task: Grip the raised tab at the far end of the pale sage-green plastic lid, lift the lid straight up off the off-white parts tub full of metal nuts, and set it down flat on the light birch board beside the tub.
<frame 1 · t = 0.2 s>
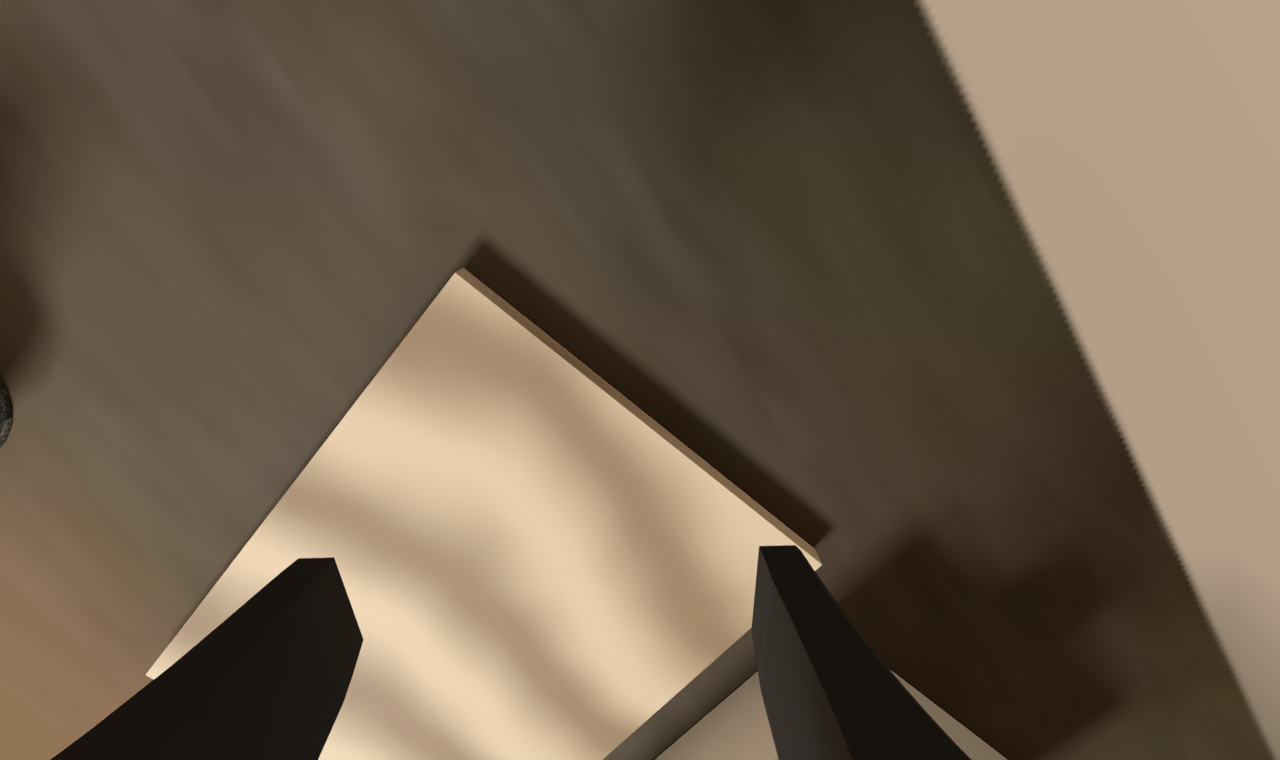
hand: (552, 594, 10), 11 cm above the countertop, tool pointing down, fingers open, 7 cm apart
board: (481, 602, 23), on the countertop
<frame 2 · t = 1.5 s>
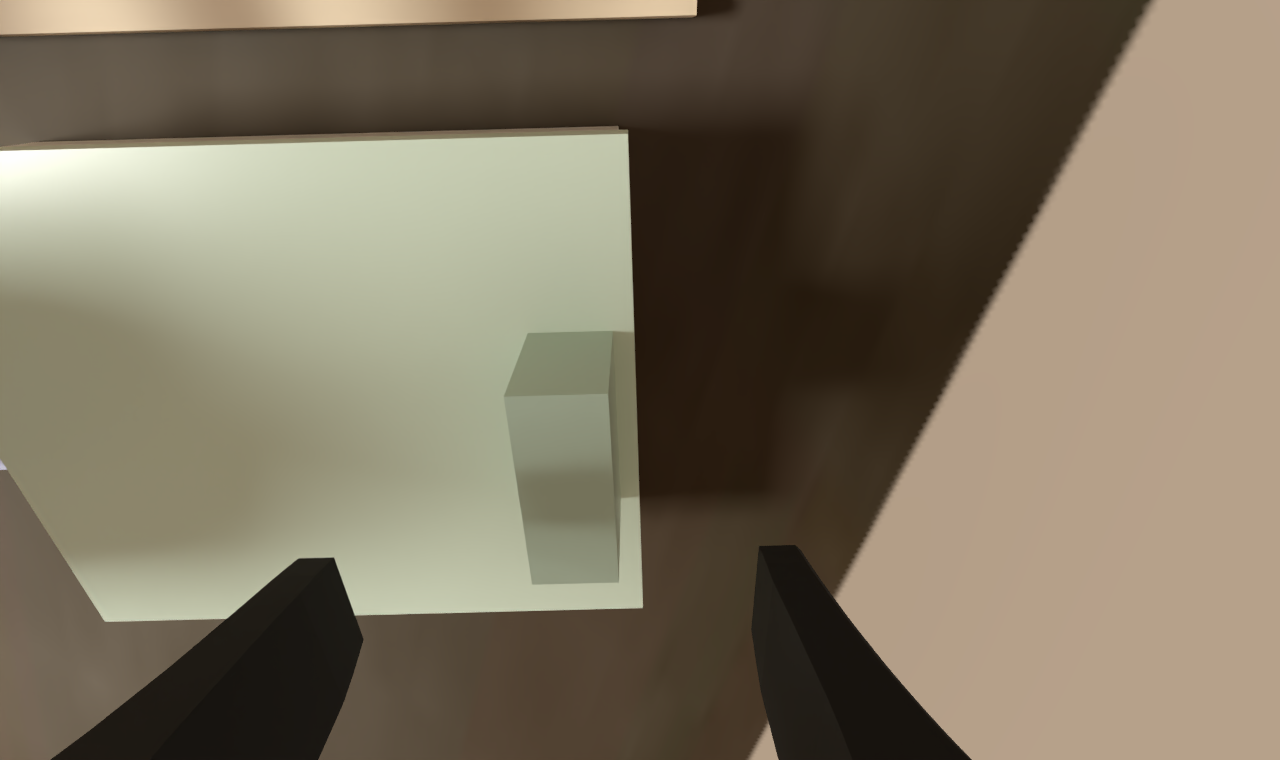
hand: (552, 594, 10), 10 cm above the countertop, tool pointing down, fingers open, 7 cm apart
tub: (380, 348, 20), on the countertop
lid: (325, 412, 16), point 4 cm above the countertop, touching tub
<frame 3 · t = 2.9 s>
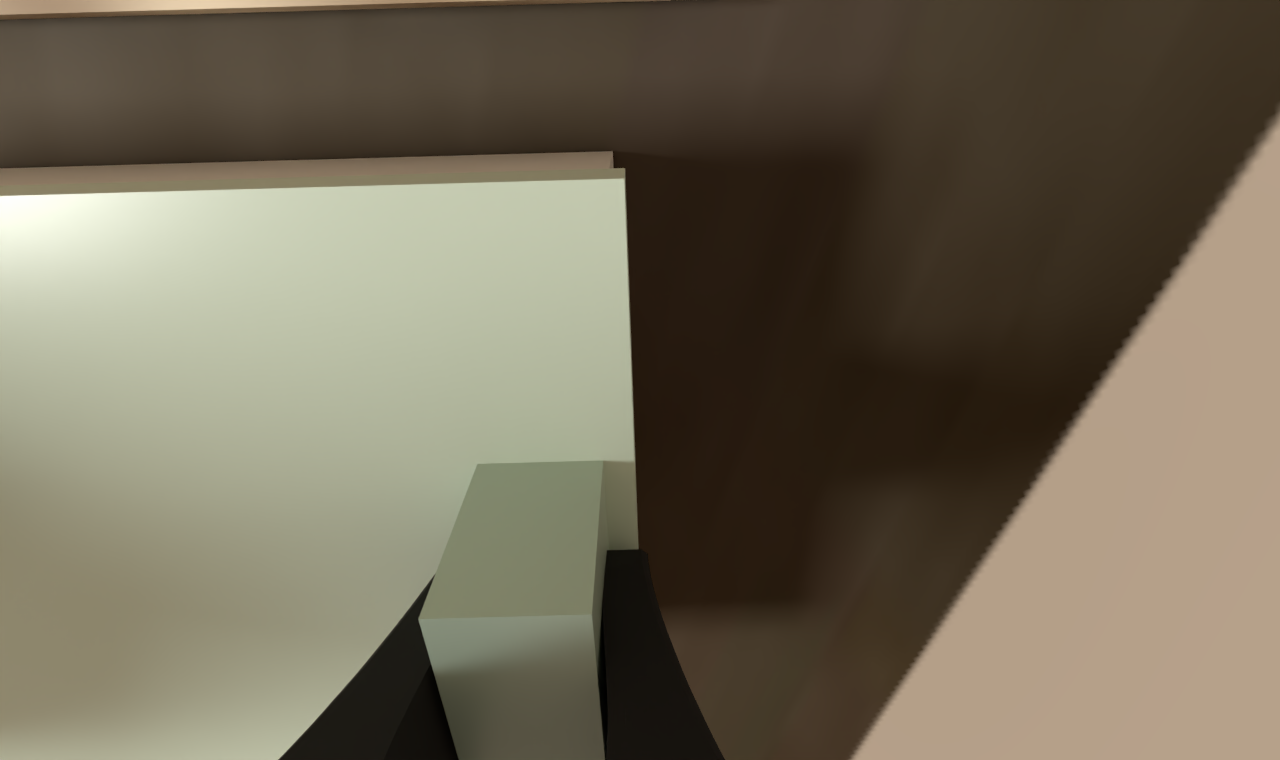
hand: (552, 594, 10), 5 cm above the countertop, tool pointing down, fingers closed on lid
tub: (303, 437, 15), on the countertop
lid: (202, 553, 11), point 4 cm above the countertop, touching gripper, tub
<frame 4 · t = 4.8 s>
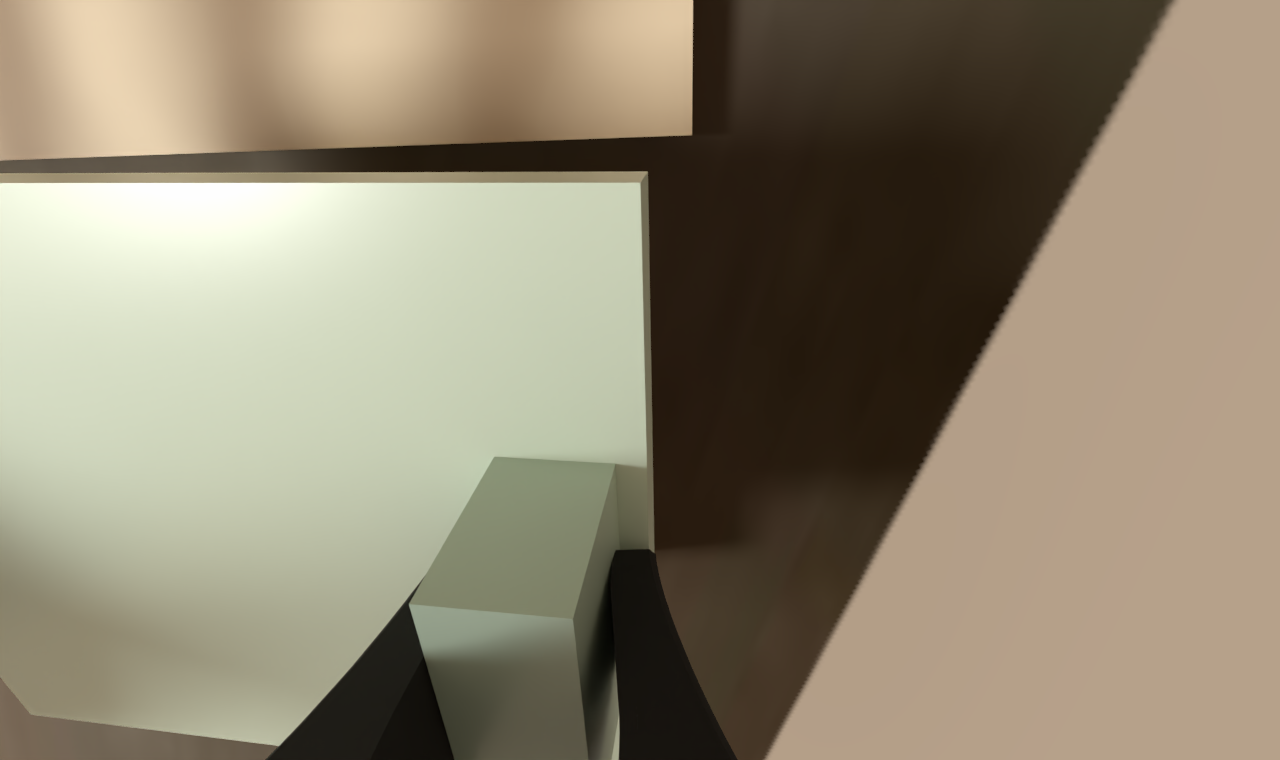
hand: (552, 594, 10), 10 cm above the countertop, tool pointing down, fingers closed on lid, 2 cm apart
lid: (252, 517, 12), point 8 cm above the countertop, tilted 8°, touching gripper
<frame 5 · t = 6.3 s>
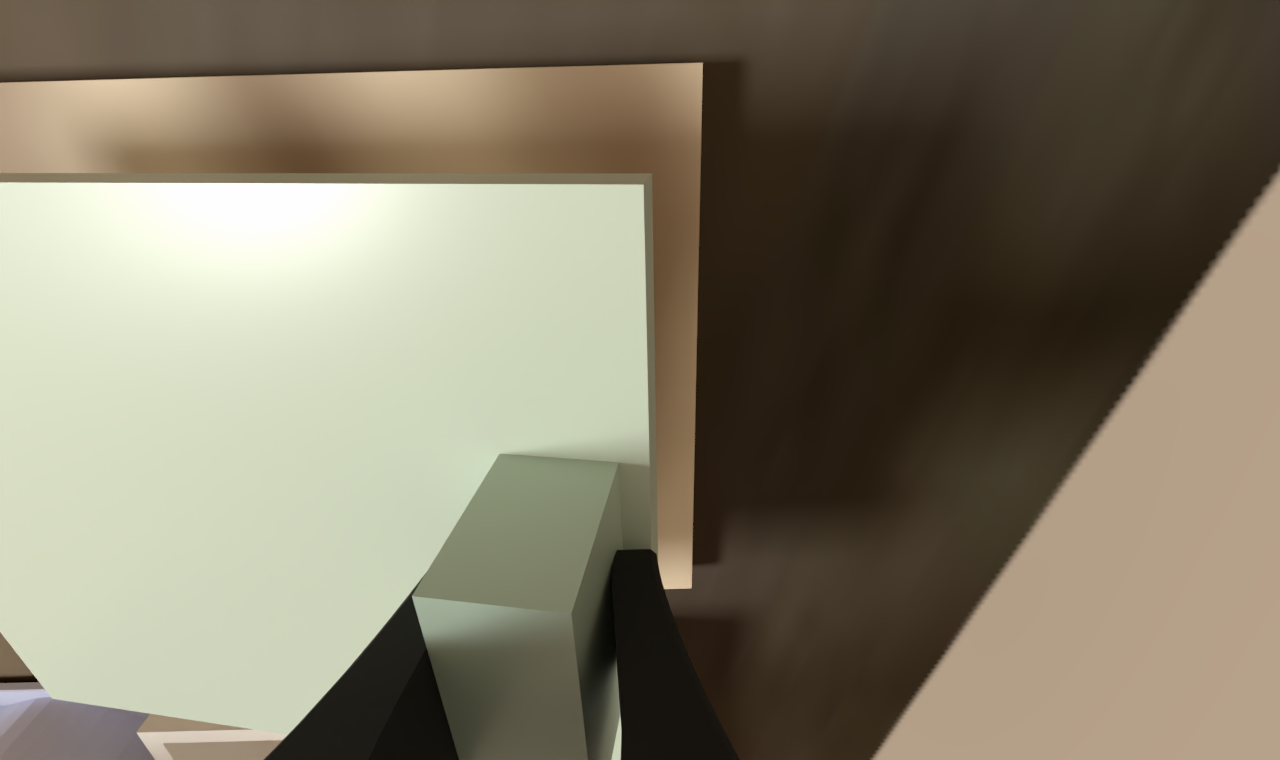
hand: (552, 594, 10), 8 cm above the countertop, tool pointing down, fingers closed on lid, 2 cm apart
tub: (453, 727, 26), on the countertop
lid: (265, 510, 13), point 6 cm above the countertop, tilted 10°, touching gripper
board: (355, 377, 18), on the countertop
when the fingers open (5 cm above the countertop, at t = 7.1 s): lid stays where it is, resting on board.
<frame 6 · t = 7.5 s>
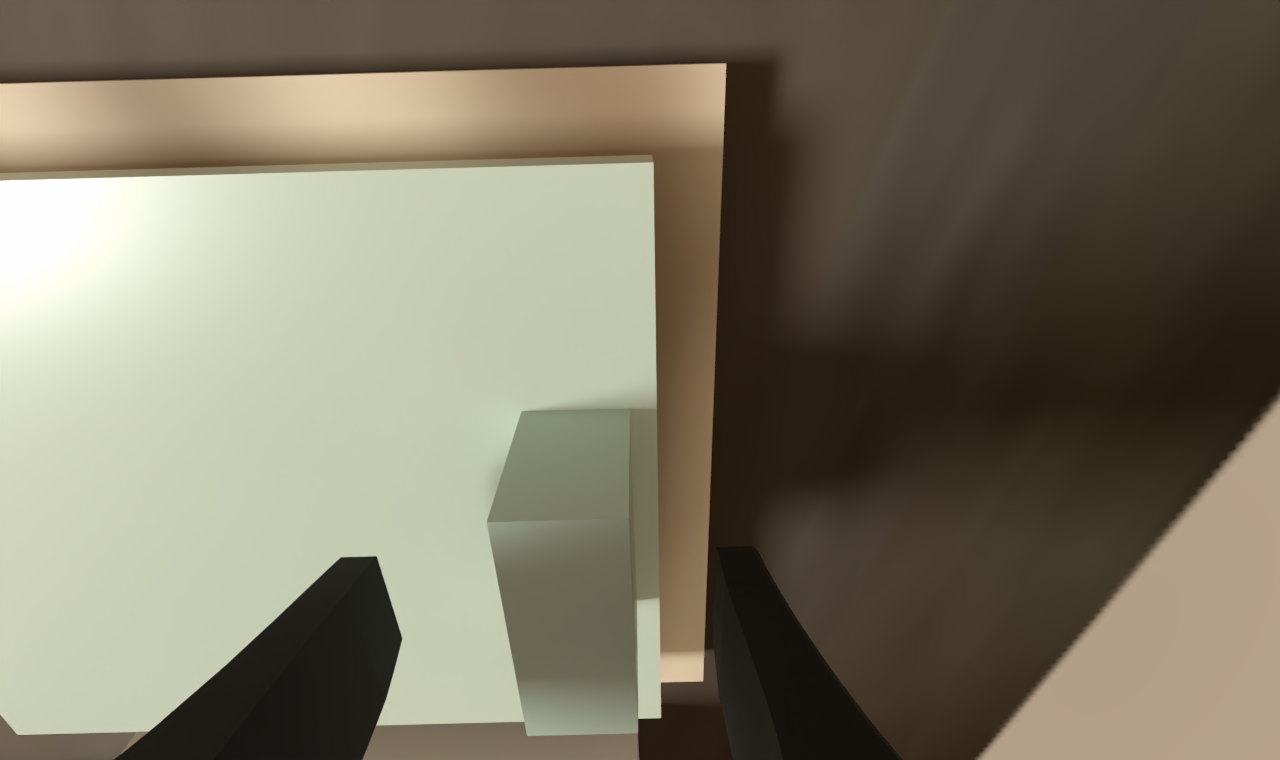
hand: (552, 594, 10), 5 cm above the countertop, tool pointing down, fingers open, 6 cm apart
lid: (272, 498, 13), point 2 cm above the countertop, touching board
board: (297, 443, 15), on the countertop
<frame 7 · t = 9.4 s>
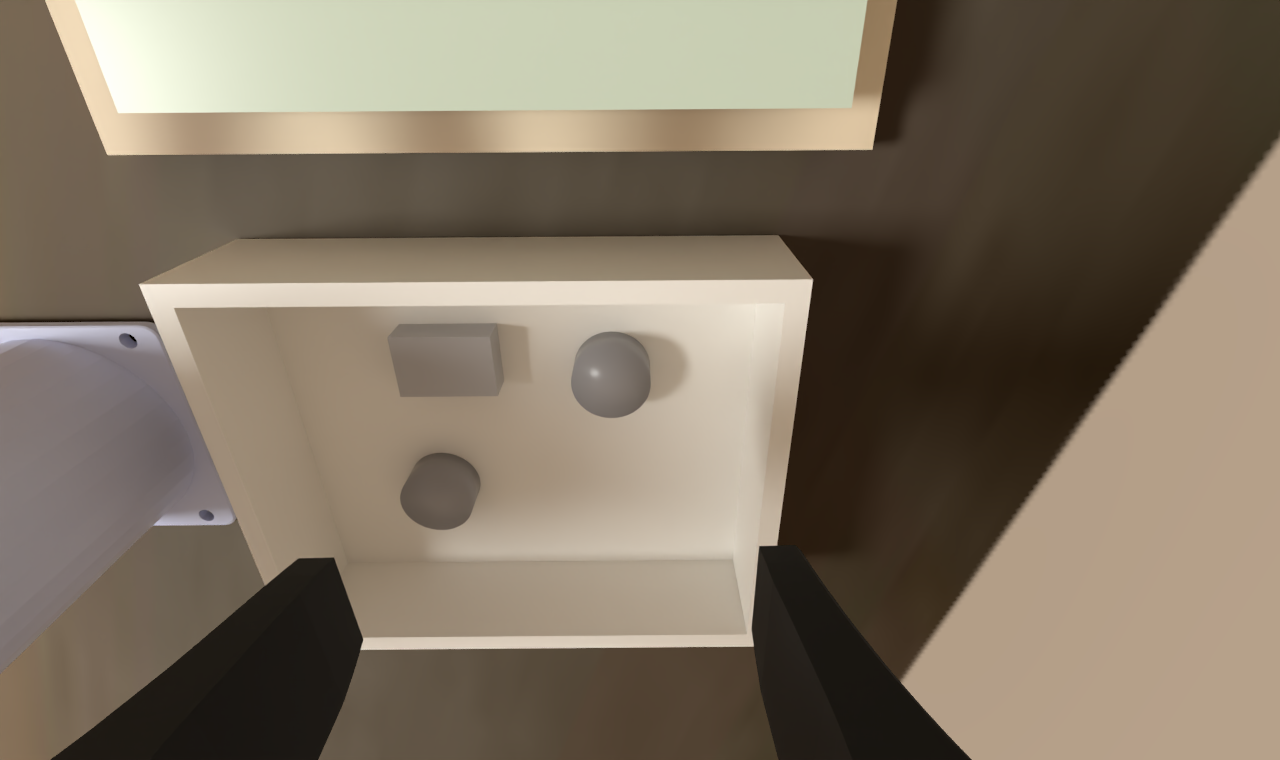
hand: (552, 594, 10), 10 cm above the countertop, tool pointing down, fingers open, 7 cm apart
tub: (528, 423, 21), on the countertop
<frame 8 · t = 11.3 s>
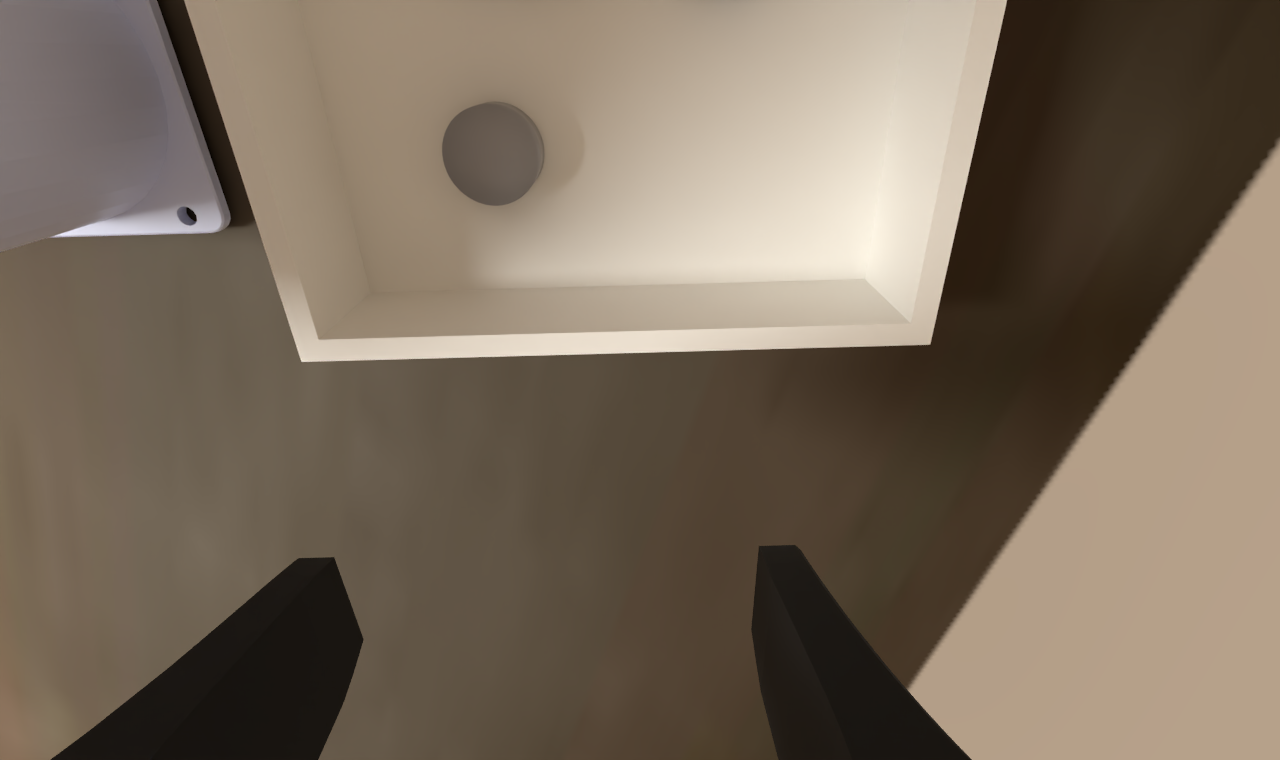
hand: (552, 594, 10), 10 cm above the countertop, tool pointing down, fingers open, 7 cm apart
tub: (608, 63, 16), on the countertop
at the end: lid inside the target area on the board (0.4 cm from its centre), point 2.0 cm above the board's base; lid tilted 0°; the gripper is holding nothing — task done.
